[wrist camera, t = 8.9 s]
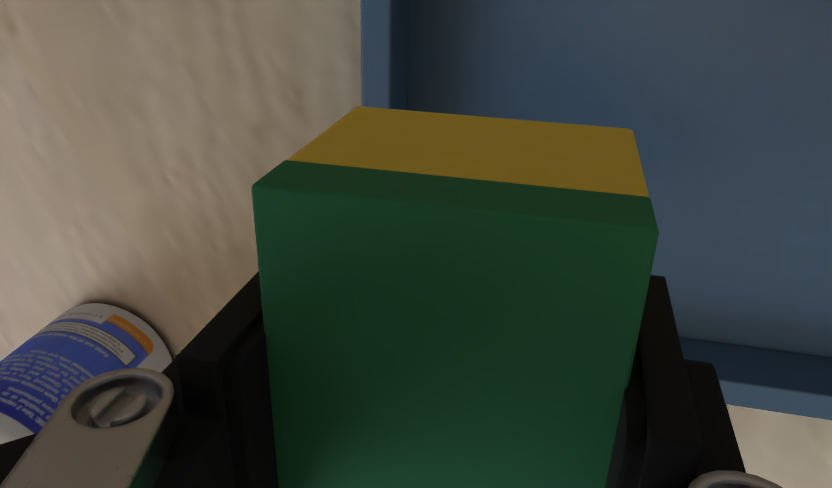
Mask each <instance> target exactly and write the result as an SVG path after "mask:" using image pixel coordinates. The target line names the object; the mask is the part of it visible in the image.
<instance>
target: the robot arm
mask: <svg viewBox="0 0 832 488" xmlns="http://www.w3.org/2000/svg"><path fill="white" fill-rule="evenodd" d="M0 488H279V486H278V475H277V463H276V451H275V439H274V428H273V416H272V404H271V392H270V381H269V369H268V357H267V345H266V334H265V333H264V325H263V314H262V302H261V291H260V279H259V271H258V272H257V273H256V274H255V275H254V276H253V277H252V279H251V280H250V281H249V282H248V283H247V284H246V285H245V286H244V287H243V288H242V289H241V290H240V291H239V292H238V293H237V294H236V295H235V296H234V297H233V298H232V299H231V300H230V301H229V302H228V303H227V304H226V305H225V306H224V308H223V309H222V310H221V311H220V312H219V313H218V314H217V315H216V316H215V317H214V318H213V319H212V320H211V321H210V322H209V323H208V324H207V325H206V326H205V327H204V328H203V329H202V330H201V331H200V332H199V333H198V334H197V335H196V337H195V338H194V339H193V340H192V341H191V342H190V343H189V344H188V345H187V346H186V347H185V348H184V349H183V350H182V351H181V352H180V353H179V354H178V355H177V356H176V358H175V359H174V360H173V361H172V362H171V363H170V364H169V365H168V366H167V367H166V368H165V369H164V370H163V371H162V372H161V373H160V372H157V371H155V370H152V369H144V368H127V369H119V370H114V371H110V372H106V373H103V374H100V375H98V376H95V377H93V378H91V379H88V380H86V381H85V382H83V383H82V384H80V385H78V386H77V387H75V388H74V389H73V390H72V391H71V392H70V393H69V394H68V395H67V396H66V397H65V398H64V399H63V400H62V401H61V403H60V404H59V405H58V407H57V408H56V410H55V411H54V412H53V414H52V415H51V416H50V418H49V419H48V421H47V422H46V423H45V425H44V426H43V427H42V429H41V430H40V431H39V433H35V434H32V435H29V436H26V437H22V438H19V439H16V440H13V441H9V442H6V443H3V444H0ZM605 488H782V487H780V486H779V485H777V484H775V483H773V482H771V481H768V480H766V479H763V478H761V477H759V476H756V475H752V474H748V473H746V471H745V468H744V464H743V461H742V457H741V454H740V451H739V447H738V444H737V441H736V437H735V434H734V430H733V427H732V424H731V420H730V417H729V414H728V410H727V407H726V403H725V400H724V397H723V393H722V390H721V387H720V383H719V380H718V377H717V373H716V370H715V368H714V366H713V364H711V363H709V362H702V361H695V360H688V359H684V357H683V352H682V348H681V344H680V339H679V335H678V331H677V326H676V322H675V318H674V313H673V309H672V305H671V300H670V296H669V292H668V287H667V283H666V279H665V276H657V275H651V276H650V281H649V285H648V290H647V295H646V300H645V305H644V310H643V315H642V320H641V325H640V330H639V335H638V340H637V345H636V350H635V355H634V360H633V365H632V370H631V375H630V380H629V385H628V388H627V389H625V390H624V395H623V400H622V405H621V410H620V415H619V420H618V425H617V430H616V435H615V440H614V445H613V450H612V455H611V460H610V465H609V470H608V475H607V480H606V485H605Z"/></svg>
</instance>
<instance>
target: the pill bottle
mask: <svg viewBox="0 0 832 488" xmlns="http://www.w3.org/2000/svg"><path fill="white" fill-rule="evenodd" d="M171 362H172V359H171V356H170V353H169V351H168V349H167V347H166V346H165V344H164V342H163V341H162V339H161V338H160V337H159V335H158V334H157V333H156V332H155V331H154V330H153V329H152V328H151V327H150V326H149V325H148V324H147V323H146V322H144V321H143V320H141V319H140V318H138V317H137V316H135V315H133V314H132V313H130V312H128V311H126V310H123V309H121V308H118V307H115V306H111V305H107V304H100V303H89V304H83V305H79V306H76V307H74V308H72V309H70V310H68V311H66V312H65V313H63V314H62V315H60V316H59V317H58V318H56V319H55V320H54V321H52V322H51V323H50V324H49V325H47V326H46V327H45V328H43V329H42V330H40V331H39V332H38V333H37V334H35V335H34V336H33V337H32V338H30V339H29V340H28V341H26V342H25V343H24V344H22V345H21V346H20V347H19V348H17V349H16V350H15V351H13V352H12V353H11V354H9V355H8V356H7V357H6V358H4V359H3V360H2V361H0V444H3V443H6V442H9V441H13V440H16V439H19V438H22V437H26V436H29V435H32V434H35V433H39V431H40V430H41V429H42V427H43V426H44V425H45V423H46V422H47V421H48V419H49V418H50V416H51V415H52V414H53V412H54V411H55V410H56V408H57V407H58V405H59V404H60V403H61V401H62V400H63V399H64V398H65V397H66V396H67V395H68V394H69V393H70V392H71V391H72V390H73V389H74V388H75V387H77V386H78V385H80V384H82V383H83V382H85V381H86V380H88V379H91V378H93V377H95V376H98V375H100V374H103V373H106V372H110V371H114V370H119V369H127V368H144V369H152V370H155V371H157V372H160V373H161V372H162V371H163V370H164V369H165V368H166V367H167V366H168V365H169V364H170V363H171Z"/></svg>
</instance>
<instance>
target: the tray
mask: <svg viewBox="0 0 832 488" xmlns="http://www.w3.org/2000/svg"><path fill="white" fill-rule="evenodd" d="M361 75H362V107H373V108H385V109H397V110H409V111H421V112H433V113H445V114H457V115H469V116H481V117H494V118H506V119H518V120H530V121H542V122H554V123H566V124H578V125H590V126H602V127H614V128H626V129H631V130H633V133H634V137H635V141H636V145H637V149H638V153H639V157H640V161H641V166H642V170H643V174H644V178H645V182H646V186H647V190H648V194H649V198H651V202H652V206H653V210H654V214H655V218H656V222H657V226H658V230H659V236H658V241H657V246H656V251H655V256H654V261H653V266H652V271H651V275H657V276H665V279H666V283H667V287H668V292H669V296H670V300H671V305H672V309H673V313H674V318H675V322H676V326H677V331H678V335H679V339H680V344H681V348H682V352H683V357H684V359H688V360H695V361H702V362H709V363H711V364H713V366H714V368H715V370H716V373H717V377H718V380H719V383H720V387H721V390H722V393H723V397H724V400H725V403H726V404H729V405H736V406H742V407H749V408H755V409H762V410H768V411H775V412H782V413H788V414H795V415H801V416H808V417H814V418H821V419H828V420H832V0H361Z"/></svg>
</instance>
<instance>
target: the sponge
mask: <svg viewBox="0 0 832 488" xmlns="http://www.w3.org/2000/svg"><path fill="white" fill-rule="evenodd" d="M252 198H253V209H254V221H255V233H256V244H257V256H258V267H259V279H260V291H261V302H262V314H263V325H264V333H265V334H266V345H267V357H268V369H269V381H270V392H271V404H272V416H273V428H274V439H275V451H276V463H277V475H278V486H279V488H605V485H606V480H607V475H608V470H609V465H610V460H611V455H612V450H613V445H614V440H615V435H616V430H617V425H618V420H619V415H620V410H621V405H622V400H623V395H624V390H625V389H627V388H628V385H629V380H630V375H631V370H632V365H633V360H634V355H635V350H636V345H637V340H638V335H639V330H640V325H641V320H642V315H643V310H644V305H645V300H646V295H647V290H648V285H649V281H650V276H651V271H652V266H653V261H654V256H655V251H656V246H657V241H658V236H659V230H658V226H657V222H656V218H655V214H654V210H653V206H652V202H651V198H649V194H648V190H647V186H646V182H645V178H644V174H643V170H642V166H641V161H640V157H639V153H638V149H637V145H636V141H635V137H634V133H633V130H631V129H626V128H614V127H602V126H590V125H578V124H566V123H554V122H542V121H530V120H518V119H506V118H494V117H481V116H469V115H457V114H445V113H433V112H421V111H409V110H397V109H385V108H373V107H361V106H359V107H356V108H355V109H353V110H352V111H351V112H350V113H348V114H347V115H346V116H344V117H343V118H342V119H340V120H339V121H338V122H336V123H335V124H334V125H332V126H331V127H330V128H329V129H327V130H326V131H325V132H323V133H322V134H321V135H319V136H318V137H317V138H315V139H314V140H313V141H311V142H310V143H309V144H308V145H306V146H305V147H304V148H302V149H301V150H300V151H298V152H297V153H296V154H294V155H293V156H292V157H290V158H289V160H286V161H283V162H282V163H281V164H279V165H278V166H277V167H275V168H274V169H273V170H271V171H270V172H269V173H267V174H266V175H265V176H264V177H262V178H261V179H260V180H258V181H257V182H256V183H254V184H253V186H252Z"/></svg>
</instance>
